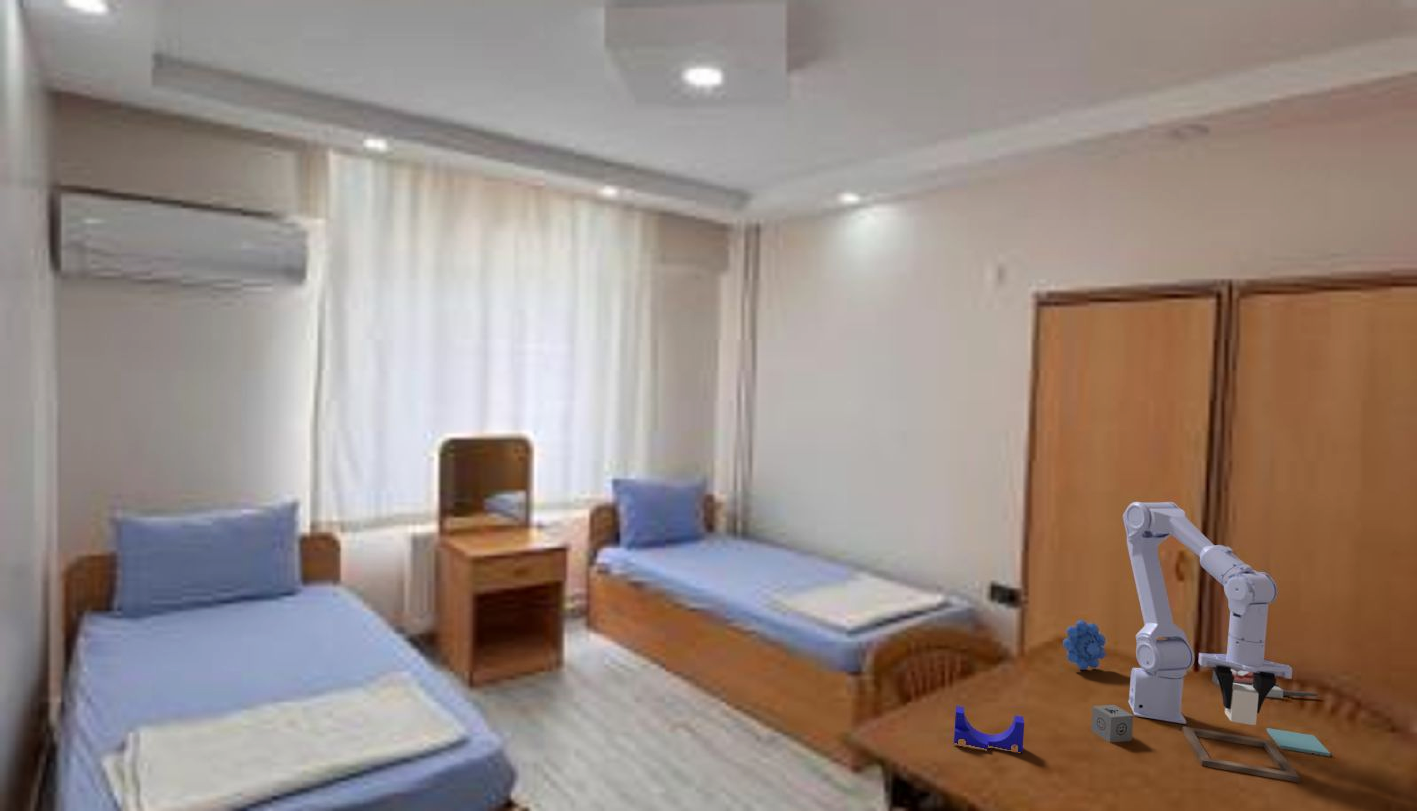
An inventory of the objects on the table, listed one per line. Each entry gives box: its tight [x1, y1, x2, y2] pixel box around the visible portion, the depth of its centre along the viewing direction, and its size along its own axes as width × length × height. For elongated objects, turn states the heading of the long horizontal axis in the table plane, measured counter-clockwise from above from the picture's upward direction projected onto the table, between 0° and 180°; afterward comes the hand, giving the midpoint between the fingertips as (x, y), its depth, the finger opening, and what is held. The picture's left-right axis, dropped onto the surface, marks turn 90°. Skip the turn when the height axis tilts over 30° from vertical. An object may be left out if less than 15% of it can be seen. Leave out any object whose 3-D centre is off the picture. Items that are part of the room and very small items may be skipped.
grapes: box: [1062, 619, 1107, 671], centre depth 191 cm, size 12×7×12 cm, turn 104°
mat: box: [1266, 727, 1331, 757], centre depth 157 cm, size 8×8×1 cm
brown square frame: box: [1182, 726, 1301, 784], centre depth 151 cm, size 15×15×1 cm
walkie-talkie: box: [1211, 669, 1318, 699], centre depth 184 cm, size 9×4×20 cm
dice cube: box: [1090, 704, 1134, 743], centre depth 157 cm, size 5×5×5 cm
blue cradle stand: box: [953, 705, 1025, 753], centre depth 150 cm, size 12×4×6 cm, turn 73°
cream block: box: [1224, 683, 1259, 726], centre depth 150 cm, size 4×4×6 cm
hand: (1240, 708), depth 151 cm, fingers closed on cream block, 4 cm apart
